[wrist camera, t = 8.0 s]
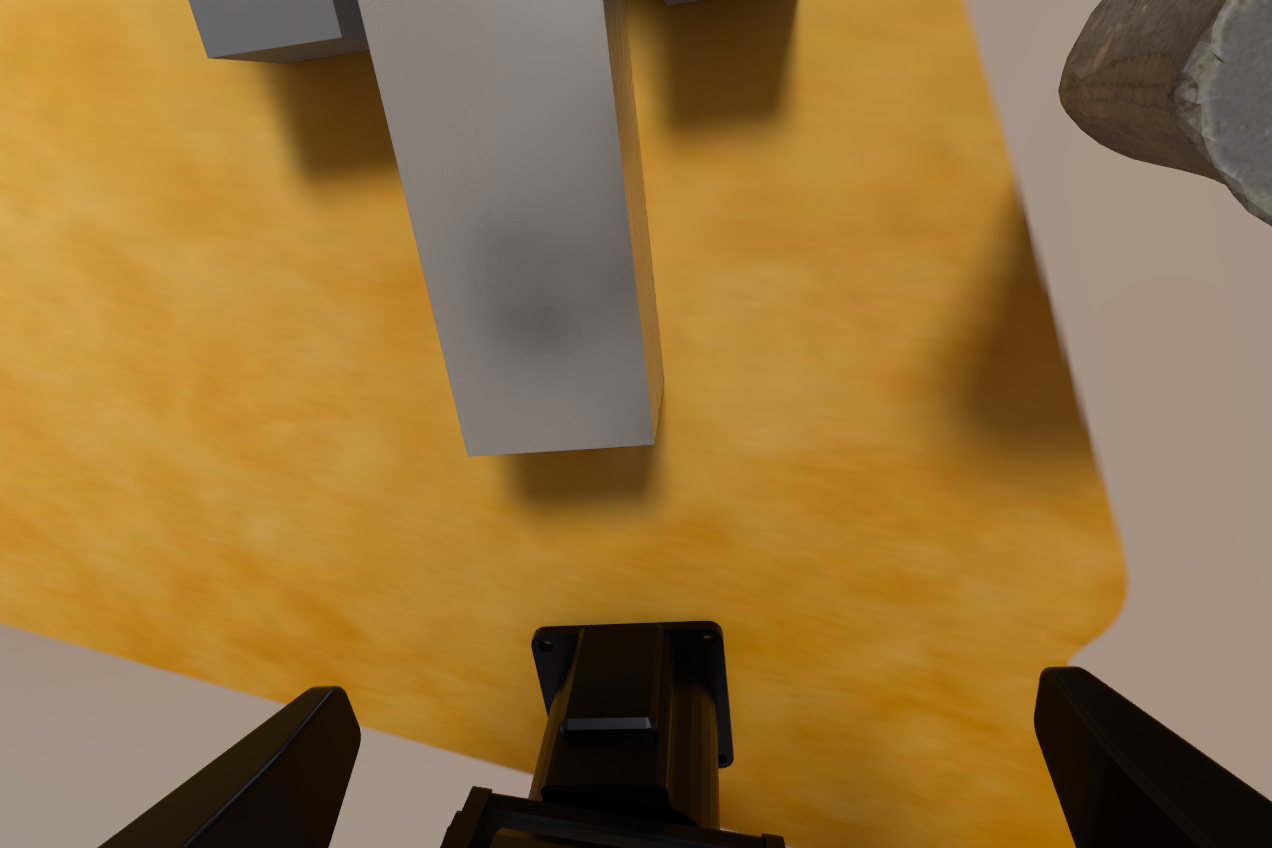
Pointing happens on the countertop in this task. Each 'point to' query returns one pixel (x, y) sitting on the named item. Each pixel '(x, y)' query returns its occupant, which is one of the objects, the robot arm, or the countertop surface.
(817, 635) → the countertop surface
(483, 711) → the countertop surface
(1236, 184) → the grey tapered cup
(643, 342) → the long gray post
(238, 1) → the grey u-shaped block
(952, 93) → the countertop surface
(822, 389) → the countertop surface
